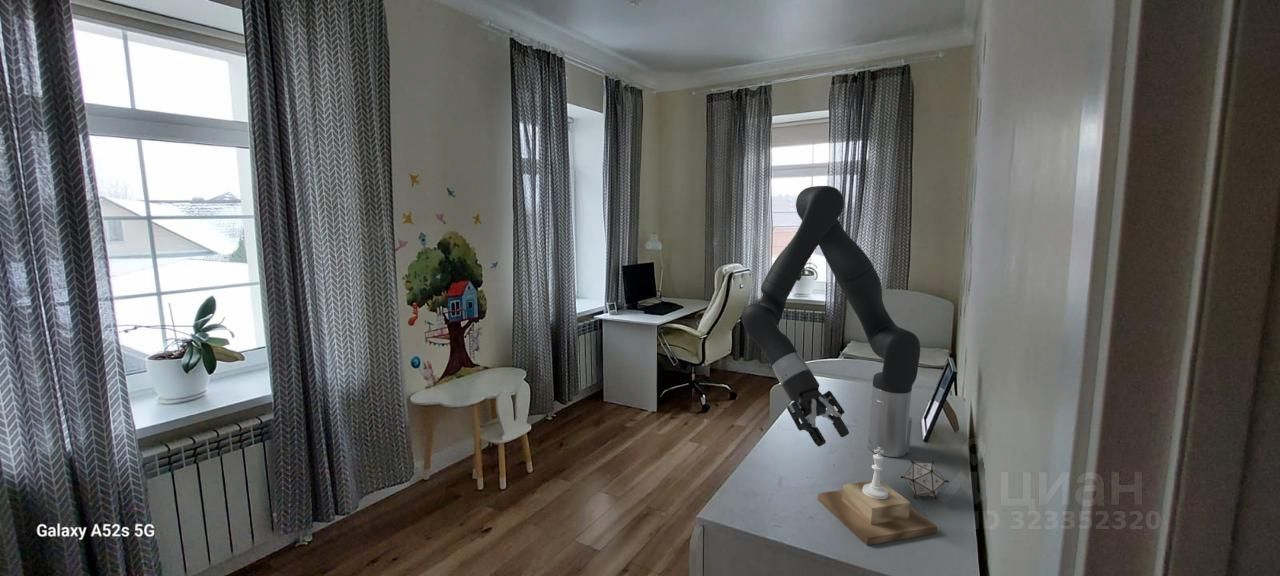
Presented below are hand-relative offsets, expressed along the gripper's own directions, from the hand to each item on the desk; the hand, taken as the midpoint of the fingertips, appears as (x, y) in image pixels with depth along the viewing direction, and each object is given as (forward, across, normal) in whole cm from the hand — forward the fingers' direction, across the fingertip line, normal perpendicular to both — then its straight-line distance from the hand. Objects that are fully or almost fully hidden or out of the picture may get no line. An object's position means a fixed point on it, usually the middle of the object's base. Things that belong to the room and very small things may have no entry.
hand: (834, 440), depth 114 cm
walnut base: (+16, 0, +2) cm, 16 cm away
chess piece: (+13, 0, -2) cm, 13 cm away
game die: (+18, +16, 0) cm, 24 cm away
